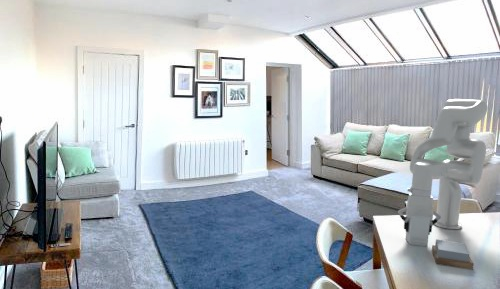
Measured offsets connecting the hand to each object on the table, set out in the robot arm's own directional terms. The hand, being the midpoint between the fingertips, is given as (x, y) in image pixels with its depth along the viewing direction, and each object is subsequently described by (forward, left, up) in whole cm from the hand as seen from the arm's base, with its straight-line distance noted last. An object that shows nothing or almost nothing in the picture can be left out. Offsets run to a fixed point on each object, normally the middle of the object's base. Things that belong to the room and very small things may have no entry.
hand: (417, 231), depth 155 cm
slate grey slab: (+13, +11, -2) cm, 17 cm away
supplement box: (0, 0, -5) cm, 5 cm away
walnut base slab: (+13, +11, -5) cm, 18 cm away
